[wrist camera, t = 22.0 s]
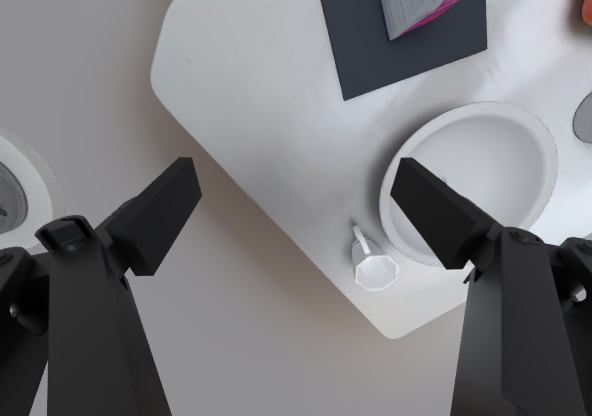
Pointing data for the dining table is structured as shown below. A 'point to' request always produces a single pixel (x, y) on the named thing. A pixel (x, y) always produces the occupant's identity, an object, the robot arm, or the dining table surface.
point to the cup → (372, 264)
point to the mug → (584, 120)
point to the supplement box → (410, 14)
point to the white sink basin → (477, 168)
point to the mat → (398, 42)
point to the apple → (587, 11)
